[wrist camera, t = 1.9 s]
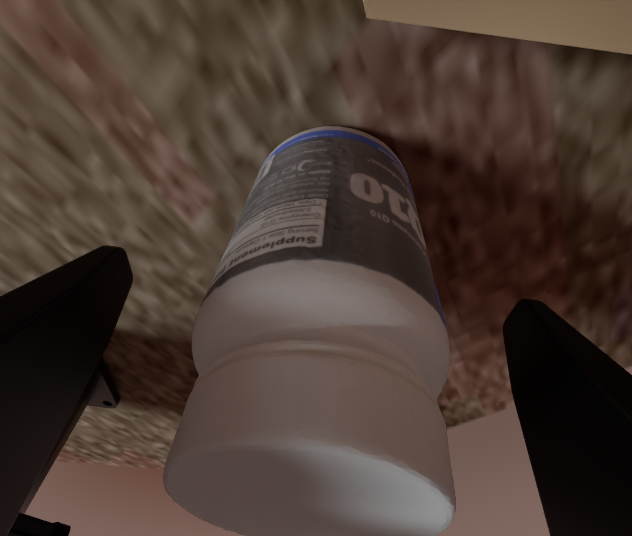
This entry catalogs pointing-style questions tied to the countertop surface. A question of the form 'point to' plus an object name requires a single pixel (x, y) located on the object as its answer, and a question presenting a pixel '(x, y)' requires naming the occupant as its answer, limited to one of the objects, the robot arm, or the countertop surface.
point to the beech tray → (521, 19)
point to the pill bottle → (320, 357)
